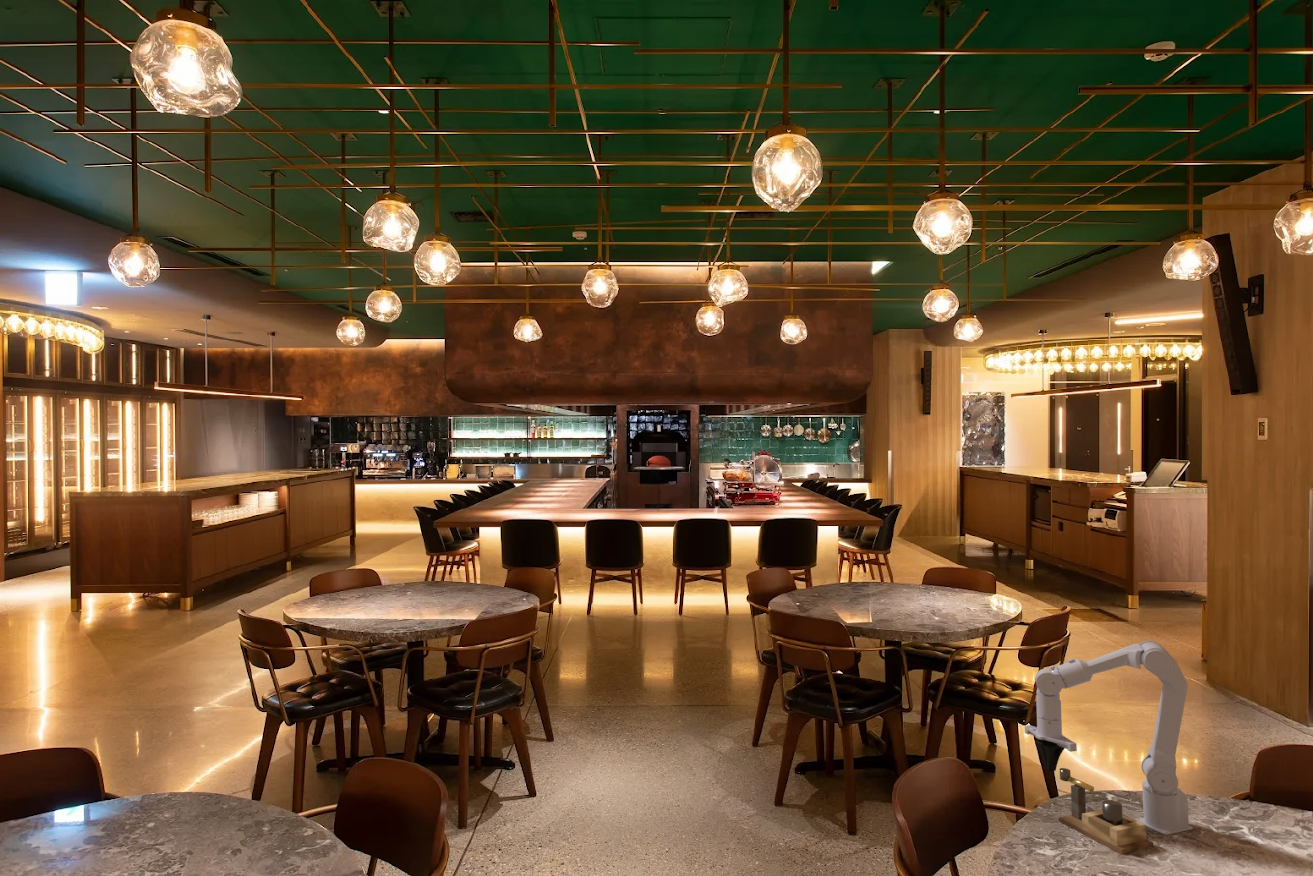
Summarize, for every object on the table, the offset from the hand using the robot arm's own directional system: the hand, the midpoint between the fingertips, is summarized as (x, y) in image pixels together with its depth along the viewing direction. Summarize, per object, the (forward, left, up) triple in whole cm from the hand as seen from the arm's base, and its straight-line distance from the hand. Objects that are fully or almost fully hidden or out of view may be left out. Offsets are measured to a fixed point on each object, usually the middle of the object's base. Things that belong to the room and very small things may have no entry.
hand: (1050, 770), depth 192 cm
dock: (0, +15, -9) cm, 18 cm away
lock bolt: (0, +8, -1) cm, 8 cm away
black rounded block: (0, +17, -8) cm, 19 cm away
